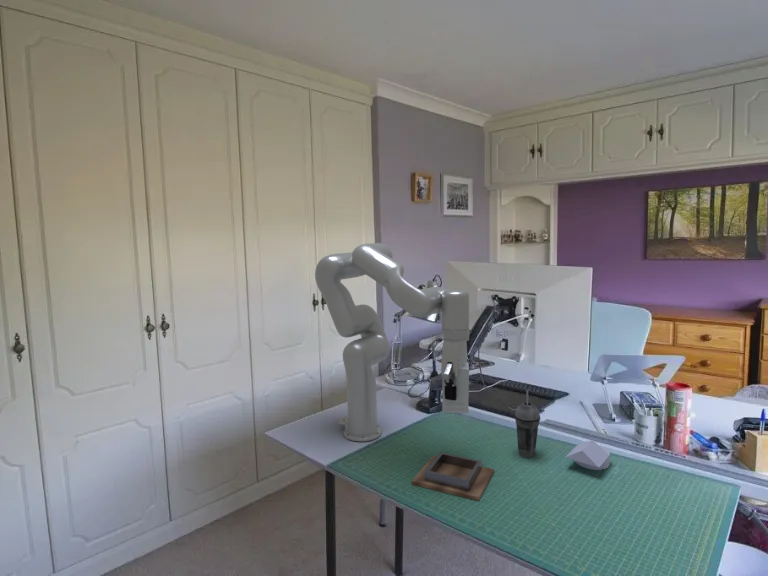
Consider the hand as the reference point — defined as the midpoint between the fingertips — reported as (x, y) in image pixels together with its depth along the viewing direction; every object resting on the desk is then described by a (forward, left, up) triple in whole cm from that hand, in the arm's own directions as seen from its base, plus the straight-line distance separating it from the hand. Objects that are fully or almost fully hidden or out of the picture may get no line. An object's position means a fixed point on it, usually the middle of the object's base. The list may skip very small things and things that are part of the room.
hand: (455, 393), depth 135 cm
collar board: (+3, -9, -20) cm, 22 cm away
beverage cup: (+18, +13, -20) cm, 30 cm away
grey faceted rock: (+35, +14, -20) cm, 42 cm away
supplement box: (0, 0, -4) cm, 4 cm away
